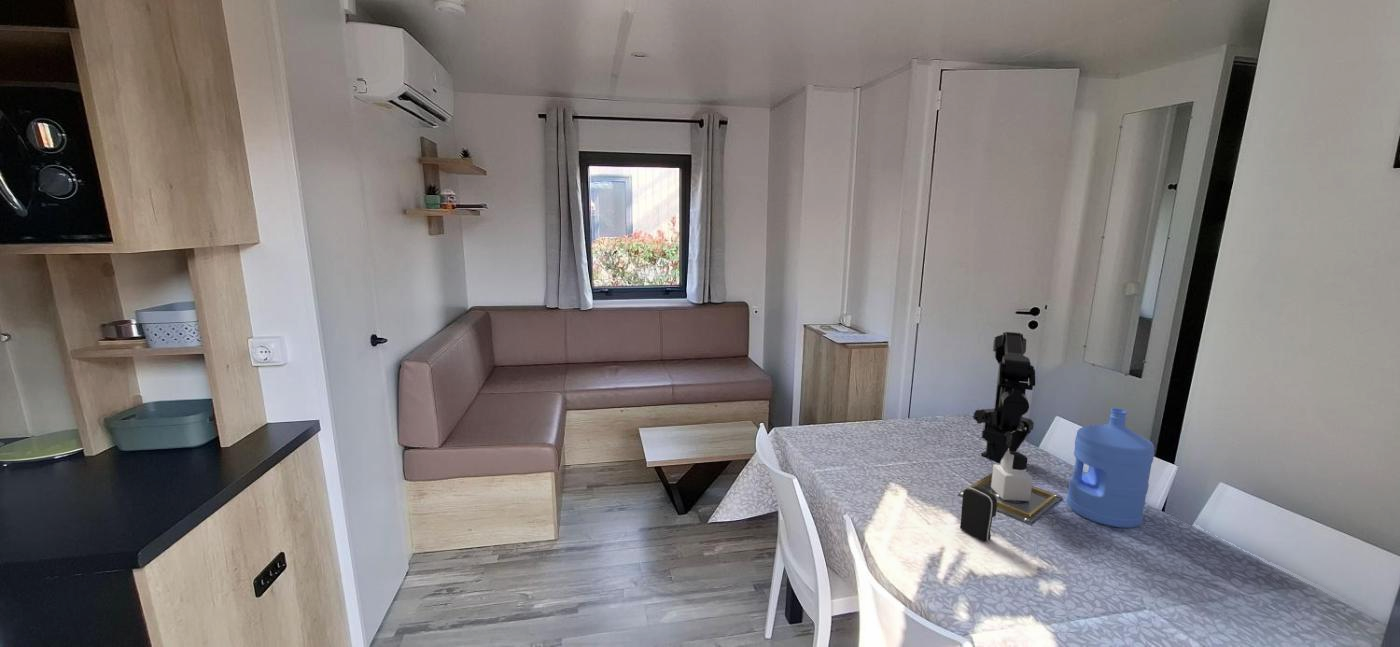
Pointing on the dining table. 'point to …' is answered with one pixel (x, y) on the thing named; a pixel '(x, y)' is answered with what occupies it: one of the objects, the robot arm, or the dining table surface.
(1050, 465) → the dining table surface
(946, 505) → the dining table surface
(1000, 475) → the medicine bottle
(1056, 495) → the lid
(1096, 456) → the water jug
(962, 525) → the battery charger
